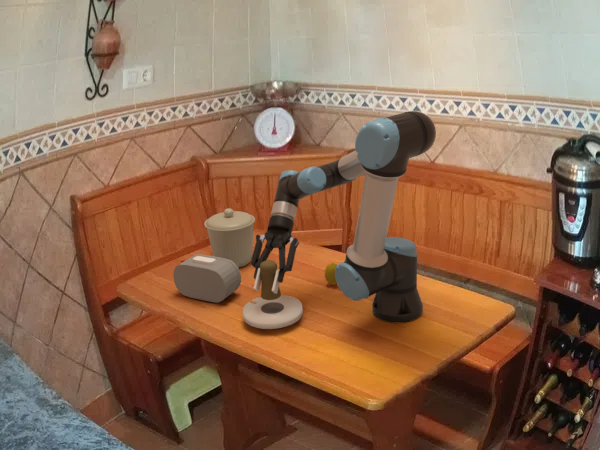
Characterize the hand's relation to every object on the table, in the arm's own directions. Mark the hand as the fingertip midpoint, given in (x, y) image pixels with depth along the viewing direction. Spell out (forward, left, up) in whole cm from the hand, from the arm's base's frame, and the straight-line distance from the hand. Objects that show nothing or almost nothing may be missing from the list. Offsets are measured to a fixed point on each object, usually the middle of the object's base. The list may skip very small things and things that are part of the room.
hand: (265, 291), depth 199 cm
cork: (+1, -4, -3) cm, 5 cm away
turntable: (+1, -3, -9) cm, 10 cm away
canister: (+40, -30, -12) cm, 51 cm away
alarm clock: (+30, -6, -12) cm, 33 cm away
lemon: (-2, -32, -12) cm, 35 cm away
